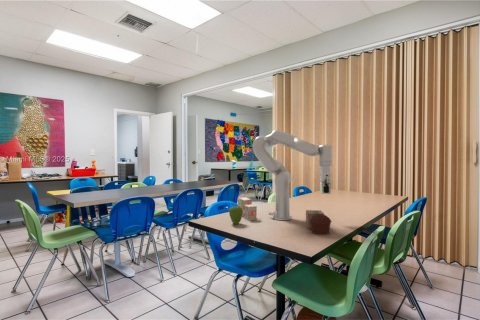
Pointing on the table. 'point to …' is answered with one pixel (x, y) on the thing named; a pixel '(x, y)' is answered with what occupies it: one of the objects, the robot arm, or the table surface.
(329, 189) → the sage block
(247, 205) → the stack of blocks
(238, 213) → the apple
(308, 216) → the riser box
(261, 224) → the table surface
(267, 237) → the table surface
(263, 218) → the table surface
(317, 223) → the muffin
